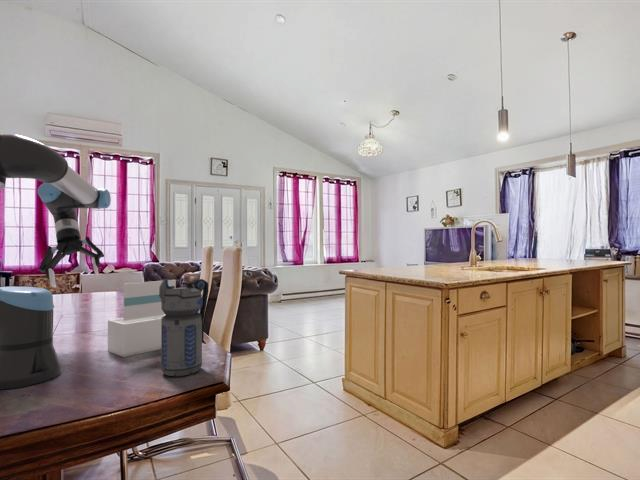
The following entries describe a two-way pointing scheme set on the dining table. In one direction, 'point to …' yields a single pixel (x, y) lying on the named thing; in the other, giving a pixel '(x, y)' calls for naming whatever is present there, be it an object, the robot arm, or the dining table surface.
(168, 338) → the beverage bottle
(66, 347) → the dining table surface
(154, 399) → the dining table surface
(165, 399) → the dining table surface
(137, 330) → the box
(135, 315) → the lid
